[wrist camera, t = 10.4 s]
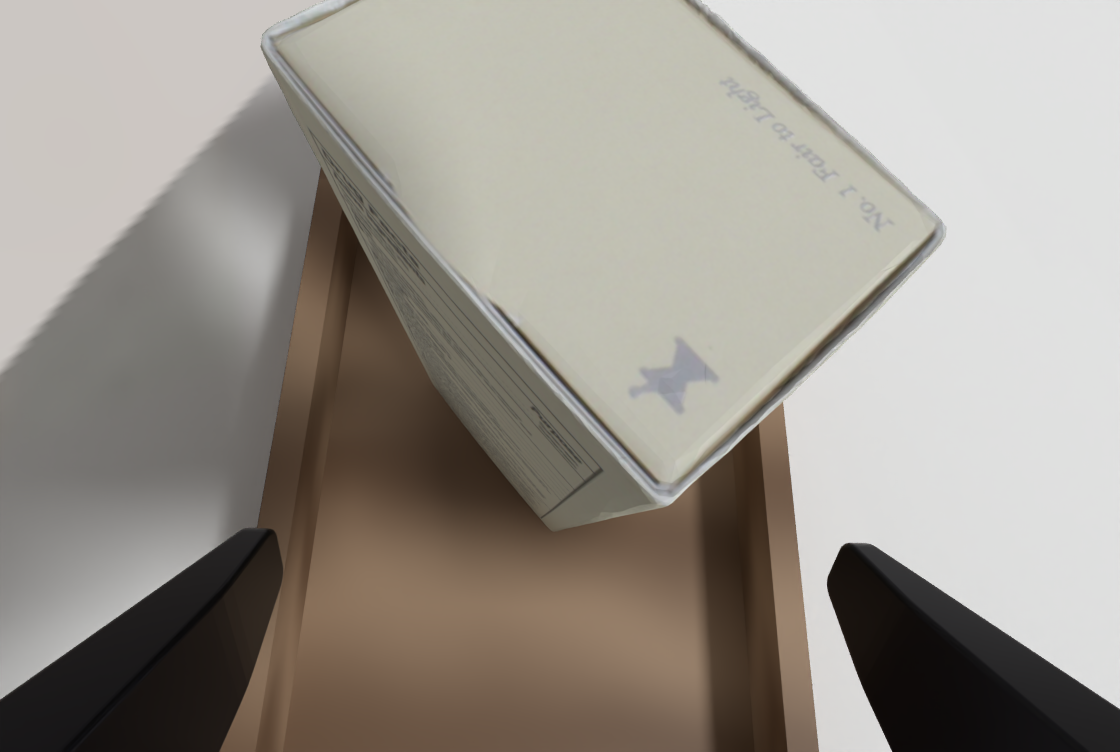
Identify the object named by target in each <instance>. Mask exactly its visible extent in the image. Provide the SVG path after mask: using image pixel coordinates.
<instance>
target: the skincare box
mask: <svg viewBox="0 0 1120 752" xmlns="http://www.w3.org/2000/svg"><path fill="white" fill-rule="evenodd" d="M261 49H262V51H263V54H264V56H265V58H266V60H267V62H268V65H269V67H270V69H271V71H272V73H273V75H274V77H275V78H276V80H277V82H278V84H279V86H280V88H281V90H282V92H283V94H284V96H285V98H286V100H287V102H288V104H289V106H290V108H291V110H292V112H293V114H294V116H295V118H296V120H297V121H298V123H299V125H300V127H301V129H302V131H303V133H304V135H305V137H306V139H307V141H308V142H309V144H310V146H311V148H312V150H313V152H314V154H315V156H316V158H317V160H318V162H319V163H320V165H321V167H322V169H323V171H324V173H325V175H326V177H327V179H328V181H329V183H330V185H331V187H332V189H333V191H334V193H335V195H336V197H337V199H338V201H339V203H340V205H341V207H342V209H343V211H344V213H345V214H346V216H347V218H348V220H349V222H350V224H351V226H352V228H353V230H354V232H355V234H356V236H357V238H358V240H359V242H360V244H361V246H362V248H363V250H364V251H365V253H366V255H367V257H368V259H369V261H370V263H371V265H372V267H373V269H374V271H375V273H376V274H377V276H378V278H379V280H380V282H381V284H382V286H383V288H384V290H385V292H386V294H387V296H388V298H389V300H390V302H391V304H392V306H393V308H394V310H395V312H396V314H397V315H398V317H399V319H400V321H401V323H402V325H403V327H404V329H405V331H406V333H407V335H408V337H409V339H410V341H411V343H412V345H413V347H414V349H415V351H416V353H417V355H418V357H419V359H420V360H421V362H422V364H423V366H424V368H425V370H426V372H427V374H428V376H429V378H430V380H431V382H432V384H433V385H434V387H435V388H436V389H437V390H438V392H439V393H440V394H441V396H442V397H443V398H444V400H445V401H446V402H447V404H448V405H449V406H450V408H451V409H452V410H453V412H454V413H455V414H456V415H457V417H458V418H459V419H460V421H461V422H462V423H463V424H464V426H465V427H466V428H467V430H468V431H469V432H470V433H471V435H472V436H473V437H474V438H475V440H476V441H477V442H478V444H479V445H480V446H481V447H482V449H483V450H484V451H485V452H486V454H487V455H488V456H489V457H490V458H491V460H492V461H493V462H494V463H495V465H496V466H497V467H498V468H499V470H500V471H501V472H502V473H503V475H504V476H505V477H506V478H507V480H508V481H509V482H510V483H511V484H512V486H513V487H514V488H515V489H516V491H517V492H518V493H519V494H520V495H521V497H522V498H523V499H524V500H525V501H526V502H527V504H528V505H529V506H530V507H531V508H532V510H533V511H534V512H535V513H536V514H537V515H538V517H539V518H540V519H541V520H542V521H543V523H544V524H545V525H546V526H547V527H548V528H549V529H550V530H551V531H554V532H555V531H560V530H563V529H567V528H572V527H577V526H581V525H585V524H591V523H594V522H598V521H602V520H607V519H610V518H615V517H619V516H624V515H629V514H634V513H638V512H643V511H648V510H653V509H658V508H663V507H666V506H668V505H670V504H672V503H673V502H674V501H675V500H676V499H677V498H678V497H679V496H680V495H681V494H682V493H683V492H684V491H685V490H686V489H687V488H688V487H689V486H690V485H691V484H692V483H694V482H695V481H696V480H697V479H698V478H699V477H700V476H701V475H703V474H704V473H705V472H706V471H707V470H708V469H709V468H710V467H712V466H713V465H714V464H715V463H716V462H717V461H718V460H720V459H721V458H722V457H723V456H724V455H726V454H727V453H728V452H729V451H730V450H731V449H732V448H733V447H734V446H735V445H736V444H738V443H739V442H740V441H741V440H742V439H743V438H744V437H745V436H746V435H747V434H748V433H749V432H750V431H751V430H752V429H754V428H755V427H756V426H757V425H758V424H759V423H760V422H761V421H762V420H763V419H764V418H766V417H767V416H768V415H769V414H770V413H771V412H772V411H773V410H774V409H775V408H776V407H778V406H779V405H780V404H781V403H782V402H783V401H784V400H786V399H787V398H788V397H789V396H790V395H791V394H792V393H793V392H794V391H795V390H796V389H797V388H798V387H799V386H800V385H801V384H802V383H803V382H804V381H805V380H806V379H807V378H808V377H809V376H810V375H811V374H813V373H814V372H815V371H816V370H817V369H818V368H819V367H820V366H821V365H822V364H823V363H824V362H825V361H826V360H827V359H829V358H830V357H831V356H832V355H833V354H834V353H835V352H836V351H837V350H838V349H839V348H840V347H841V346H842V345H843V344H844V343H845V342H846V341H847V340H848V339H849V338H850V337H851V336H852V335H854V334H855V333H856V332H857V331H858V330H859V329H860V328H861V327H862V326H863V325H864V324H865V323H866V322H867V321H868V320H869V319H870V318H871V317H872V316H873V315H874V314H875V313H876V312H877V311H878V310H879V309H880V308H881V307H882V306H883V305H884V304H885V303H886V302H887V301H888V300H889V299H890V298H891V297H892V296H893V295H894V294H895V293H896V292H897V290H898V289H899V288H900V287H901V286H902V285H903V284H904V283H905V282H906V281H907V280H908V279H909V278H910V277H911V276H912V275H913V274H914V273H915V272H916V271H917V269H918V268H919V267H920V266H921V265H922V264H923V263H924V262H925V261H926V260H927V259H928V258H929V257H930V256H931V254H932V253H933V252H934V251H935V250H936V249H937V248H938V247H939V246H940V245H941V243H942V242H943V240H944V238H945V236H946V226H945V225H944V223H943V222H942V220H941V219H940V218H939V217H938V216H937V215H936V214H935V213H934V212H933V211H932V210H931V209H930V208H929V207H927V206H926V205H925V204H924V203H923V202H922V201H920V200H919V199H918V198H917V197H916V196H915V195H913V194H912V192H911V191H910V190H909V189H908V188H907V187H906V186H905V185H904V184H903V183H902V182H901V181H900V180H899V179H898V178H897V177H896V176H894V175H893V174H892V173H891V172H890V171H889V170H888V169H887V168H886V167H885V166H884V165H883V164H882V163H881V162H880V161H879V160H878V159H877V158H876V157H875V156H874V155H873V154H872V153H871V152H870V151H868V150H867V149H866V148H865V147H864V146H862V145H861V144H860V143H859V142H858V141H857V140H856V139H855V138H854V137H853V136H851V135H850V134H849V133H848V132H847V131H846V130H845V129H843V128H842V127H841V126H840V125H839V124H838V123H837V122H836V121H835V120H834V119H833V118H831V117H830V116H829V115H828V114H827V113H826V112H825V111H824V110H823V109H822V108H821V107H820V106H819V105H817V104H816V103H814V102H813V101H812V100H811V99H810V98H809V97H808V96H807V95H806V94H804V93H803V92H802V91H801V90H800V89H799V87H798V86H797V85H796V84H794V83H793V82H792V81H791V80H790V79H788V78H787V77H786V76H785V75H784V74H782V73H781V72H780V71H779V70H778V69H777V68H776V67H775V66H774V65H773V64H772V63H771V62H770V61H768V60H767V59H766V58H765V57H764V56H763V55H762V54H761V53H760V52H759V51H757V50H756V49H755V48H754V47H752V46H751V45H750V44H749V43H748V42H746V41H745V40H744V39H743V38H742V37H741V36H740V35H739V34H737V33H736V32H735V31H734V30H733V29H732V28H731V27H730V26H729V25H728V24H727V23H726V22H725V21H724V20H723V19H722V18H721V17H720V16H719V15H718V14H715V13H713V12H711V11H710V9H709V7H708V6H707V5H705V4H703V3H702V1H701V0H324V1H322V2H320V3H318V4H315V5H313V6H311V7H309V8H307V9H305V10H303V11H301V12H299V13H297V14H296V15H294V16H292V17H290V18H288V19H286V20H283V21H280V22H278V23H276V24H274V25H273V26H271V27H270V28H269V29H267V30H266V31H265V32H264V33H263V34H262V41H261Z"/></svg>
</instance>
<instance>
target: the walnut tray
mask: <svg viewBox="0 0 1120 752" xmlns="http://www.w3.org/2000/svg"><path fill="white" fill-rule="evenodd" d="M257 528H270V529H273V530H274V531H275V532H276V534H277V538H278V543H279V548H280V553H281V558H282V563H283V580H282V584H281V588H280V591H279V594H278V597H277V600H276V603H275V606H274V609H273V612H272V615H271V618H270V621H269V625H268V628H267V631H266V634H265V637H264V640H263V643H262V646H261V649H260V652H259V655H258V658H257V662H256V665H255V668H254V671H253V673H252V676H251V679H250V682H249V685H248V687H247V690H246V692H245V695H244V697H243V700H242V702H241V704H240V707H239V709H238V711H237V713H236V716H235V718H234V720H233V722H232V725H231V727H230V729H229V731H228V734H227V736H226V738H225V740H224V743H223V745H222V747H221V749H220V752H819V748H818V738H817V728H816V719H815V709H814V699H813V690H812V680H811V670H810V660H809V651H808V641H807V631H806V621H805V612H804V602H803V592H802V583H801V573H800V563H799V553H798V544H797V534H796V524H795V514H794V505H793V495H792V485H791V476H790V466H789V456H788V446H787V437H786V427H785V417H784V407H783V402H782V403H781V404H780V405H779V406H778V407H776V408H775V409H774V410H773V411H772V412H771V413H770V414H769V415H768V416H767V417H766V418H764V419H763V420H762V421H761V422H760V423H759V424H758V425H757V426H756V427H755V428H754V429H752V430H751V431H750V432H749V433H748V434H747V435H746V436H745V437H744V438H743V439H742V440H741V441H740V442H739V443H738V444H736V445H735V446H734V447H733V448H732V449H731V450H730V451H729V452H728V453H727V454H726V455H724V456H723V457H722V458H721V459H720V460H718V461H717V462H716V463H715V464H714V465H713V466H712V467H710V468H709V469H708V470H707V471H706V472H705V473H704V474H703V475H701V476H700V477H699V478H698V479H697V480H696V481H695V482H694V483H692V484H691V485H690V486H689V487H688V488H687V489H686V490H685V491H684V492H683V493H682V494H681V495H680V496H679V497H678V498H677V499H676V500H675V501H674V502H673V503H672V504H670V505H668V506H666V507H663V508H658V509H653V510H648V511H643V512H638V513H634V514H629V515H624V516H619V517H615V518H610V519H607V520H602V521H598V522H594V523H591V524H585V525H581V526H577V527H572V528H567V529H563V530H560V531H555V532H554V531H551V530H550V529H549V528H548V527H547V526H546V525H545V524H544V523H543V521H542V520H541V519H540V518H539V517H538V515H537V514H536V513H535V512H534V511H533V510H532V508H531V507H530V506H529V505H528V504H527V502H526V501H525V500H524V499H523V498H522V497H521V495H520V494H519V493H518V492H517V491H516V489H515V488H514V487H513V486H512V484H511V483H510V482H509V481H508V480H507V478H506V477H505V476H504V475H503V473H502V472H501V471H500V470H499V468H498V467H497V466H496V465H495V463H494V462H493V461H492V460H491V458H490V457H489V456H488V455H487V454H486V452H485V451H484V450H483V449H482V447H481V446H480V445H479V444H478V442H477V441H476V440H475V438H474V437H473V436H472V435H471V433H470V432H469V431H468V430H467V428H466V427H465V426H464V424H463V423H462V422H461V421H460V419H459V418H458V417H457V415H456V414H455V413H454V412H453V410H452V409H451V408H450V406H449V405H448V404H447V402H446V401H445V400H444V398H443V397H442V396H441V394H440V393H439V392H438V390H437V389H436V388H435V387H434V385H433V384H432V382H431V380H430V378H429V376H428V374H427V372H426V370H425V368H424V366H423V364H422V362H421V360H420V359H419V357H418V355H417V353H416V351H415V349H414V347H413V345H412V343H411V341H410V339H409V337H408V335H407V333H406V331H405V329H404V327H403V325H402V323H401V321H400V319H399V317H398V315H397V314H396V312H395V310H394V308H393V306H392V304H391V302H390V300H389V298H388V296H387V294H386V292H385V290H384V288H383V286H382V284H381V282H380V280H379V278H378V276H377V274H376V273H375V271H374V269H373V267H372V265H371V263H370V261H369V259H368V257H367V255H366V253H365V251H364V250H363V248H362V246H361V244H360V242H359V240H358V238H357V236H356V234H355V232H354V230H353V228H352V226H351V224H350V222H349V220H348V218H347V216H346V214H345V213H344V211H343V209H342V207H341V205H340V203H339V201H338V199H337V197H336V195H335V193H334V191H333V189H332V187H331V185H330V183H329V181H328V179H327V177H326V175H325V173H324V171H323V169H322V167H321V170H320V176H319V182H318V187H317V193H316V198H315V204H314V210H313V215H312V221H311V227H310V232H309V238H308V243H307V249H306V255H305V260H304V266H303V272H302V277H301V283H300V289H299V294H298V300H297V305H296V311H295V317H294V322H293V328H292V334H291V339H290V345H289V351H288V356H287V362H286V367H285V373H284V379H283V384H282V390H281V396H280V401H279V407H278V412H277V418H276V424H275V429H274V435H273V441H272V446H271V452H270V458H269V463H268V469H267V474H266V480H265V486H264V491H263V497H262V503H261V508H260V514H259V520H258V525H257Z"/></svg>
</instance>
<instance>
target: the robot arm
mask: <svg viewBox="0 0 1120 752" xmlns="http://www.w3.org/2000/svg"><path fill="white" fill-rule="evenodd" d="M282 580H283V563H282V558H281V553H280V548H279V543H278V538H277V534H276V532H275V531H274V530H273V529H270V528H245V529H243V530H241V531H239V532H238V533H236V534H235V535H233V536H232V537H230V538H229V539H228V540H226V541H225V542H223V543H222V544H221V545H219V546H218V547H216V548H215V549H213V550H212V551H211V552H209V553H208V554H206V555H205V556H204V557H202V558H201V559H199V560H198V561H196V562H195V563H194V564H192V565H191V566H189V567H188V568H186V569H185V570H184V571H182V572H181V573H179V574H178V575H177V576H175V577H174V578H172V579H171V580H169V581H168V582H167V583H165V584H164V585H162V586H161V587H160V588H158V589H157V590H155V591H154V592H152V593H151V594H150V595H148V596H147V597H145V598H144V599H142V600H141V601H140V602H138V603H137V604H135V605H134V606H133V607H131V608H130V609H128V610H127V611H125V612H124V613H123V614H121V615H120V616H118V617H117V618H115V619H114V620H113V621H111V622H110V623H108V624H107V625H106V626H104V627H103V628H101V629H100V630H98V631H97V632H96V633H94V634H93V635H91V636H90V637H89V638H87V639H86V640H84V641H83V642H81V643H80V644H79V645H77V646H76V647H74V648H73V649H71V650H70V651H69V652H67V653H66V654H64V655H63V656H62V657H60V658H59V659H57V660H56V661H54V662H53V663H52V664H50V665H49V666H47V667H46V668H44V669H43V670H42V671H40V672H39V673H37V674H36V675H35V676H33V677H32V678H30V679H29V680H27V681H26V682H25V683H23V684H22V685H20V686H19V687H18V688H16V689H15V690H13V691H12V692H10V693H9V694H8V695H6V696H5V697H3V698H2V699H0V752H220V749H221V747H222V745H223V743H224V740H225V738H226V736H227V734H228V731H229V729H230V727H231V725H232V722H233V720H234V718H235V716H236V713H237V711H238V709H239V707H240V704H241V702H242V700H243V697H244V695H245V692H246V690H247V687H248V685H249V682H250V679H251V676H252V673H253V671H254V668H255V665H256V662H257V658H258V655H259V652H260V649H261V646H262V643H263V640H264V637H265V634H266V631H267V628H268V625H269V621H270V618H271V615H272V612H273V609H274V606H275V603H276V600H277V597H278V594H279V591H280V588H281V584H282ZM827 589H828V593H829V596H830V599H831V602H832V605H833V608H834V610H835V613H836V616H837V619H838V622H839V624H840V627H841V630H842V633H843V635H844V638H845V641H846V644H847V647H848V649H849V652H850V655H851V658H852V661H853V663H854V666H855V669H856V672H857V674H858V677H859V679H860V682H861V684H862V687H863V689H864V691H865V694H866V696H867V698H868V701H869V703H870V705H871V707H872V709H873V711H874V713H875V716H876V718H877V720H878V722H879V724H880V726H881V729H882V731H883V733H884V735H885V737H886V739H887V741H888V744H889V746H890V748H891V750H892V752H1120V709H1119V708H1117V707H1116V706H1114V705H1113V704H1111V703H1110V702H1108V701H1107V700H1105V699H1104V698H1102V697H1101V696H1099V695H1098V694H1096V693H1095V692H1093V691H1092V690H1090V689H1089V688H1087V687H1086V686H1084V685H1083V684H1081V683H1080V682H1078V681H1077V680H1075V679H1074V678H1072V677H1071V676H1069V675H1068V674H1066V673H1065V672H1063V671H1062V670H1060V669H1059V668H1057V667H1056V666H1054V665H1053V664H1051V663H1050V662H1048V661H1047V660H1045V659H1044V658H1042V657H1041V656H1039V655H1038V654H1036V653H1035V652H1033V651H1032V650H1030V649H1029V648H1027V647H1026V646H1024V645H1023V644H1021V643H1020V642H1018V641H1017V640H1015V639H1014V638H1012V637H1011V636H1009V635H1008V634H1006V633H1004V632H1003V631H1001V630H1000V629H998V628H997V627H995V626H994V625H992V624H991V623H989V622H988V621H986V620H985V619H983V618H982V617H980V616H979V615H977V614H976V613H974V612H973V611H971V610H970V609H968V608H967V607H965V606H964V605H962V604H961V603H959V602H958V601H956V600H955V599H953V598H952V597H950V596H949V595H947V594H946V593H944V592H943V591H941V590H940V589H938V588H937V587H935V586H934V585H932V584H931V583H929V582H928V581H926V580H925V579H923V578H922V577H920V576H919V575H917V574H916V573H914V572H913V571H911V570H910V569H908V568H907V567H905V566H904V565H902V564H901V563H899V562H898V561H896V560H895V559H893V558H892V557H890V556H889V555H887V554H886V553H884V552H883V551H881V550H880V549H878V548H877V547H875V546H873V545H871V544H867V543H846V544H844V545H843V546H842V547H841V549H840V551H839V553H838V555H837V557H836V560H835V562H834V564H833V566H832V569H831V571H830V573H829V575H828V579H827Z"/></svg>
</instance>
